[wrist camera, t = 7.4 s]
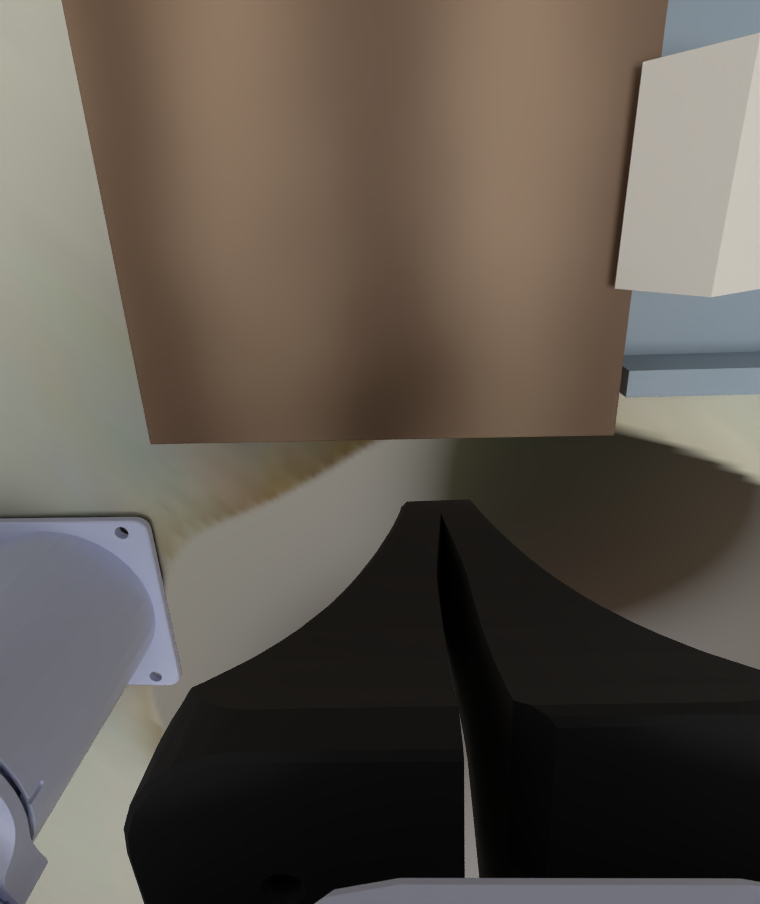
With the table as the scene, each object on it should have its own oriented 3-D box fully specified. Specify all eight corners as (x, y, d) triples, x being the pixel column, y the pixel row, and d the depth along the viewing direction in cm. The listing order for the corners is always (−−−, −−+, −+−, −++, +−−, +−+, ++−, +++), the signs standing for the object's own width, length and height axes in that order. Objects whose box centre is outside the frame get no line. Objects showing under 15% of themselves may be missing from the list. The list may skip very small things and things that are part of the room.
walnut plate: (185, 413, 20) (150, 443, 18) (98, -90, 15) (29, -160, 12) (584, 404, 20) (614, 435, 17) (638, -127, 14) (694, -210, 12)
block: (614, 288, 15) (710, 297, 13) (642, 62, 13) (760, 32, 11) (716, 274, 17) (809, 280, 16) (752, 83, 16) (863, 62, 14)
